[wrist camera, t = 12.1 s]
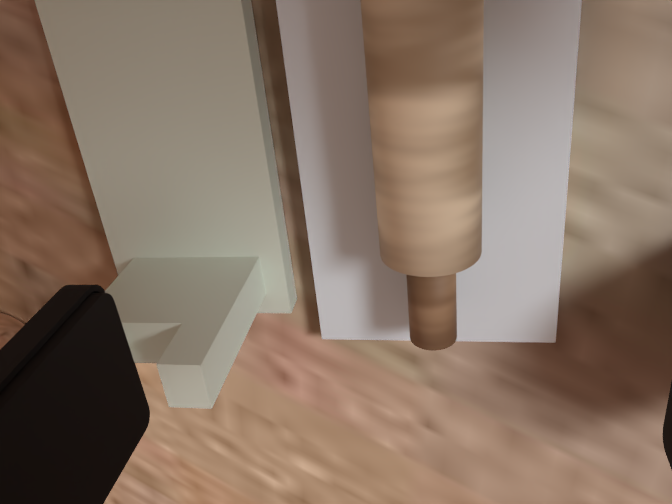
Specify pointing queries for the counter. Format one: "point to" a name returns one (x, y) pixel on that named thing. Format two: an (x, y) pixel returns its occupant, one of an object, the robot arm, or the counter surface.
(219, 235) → the pin stand
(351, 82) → the pastry board
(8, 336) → the beer glass
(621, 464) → the counter surface
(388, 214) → the rolling pin
